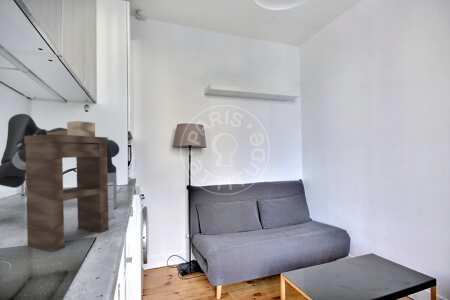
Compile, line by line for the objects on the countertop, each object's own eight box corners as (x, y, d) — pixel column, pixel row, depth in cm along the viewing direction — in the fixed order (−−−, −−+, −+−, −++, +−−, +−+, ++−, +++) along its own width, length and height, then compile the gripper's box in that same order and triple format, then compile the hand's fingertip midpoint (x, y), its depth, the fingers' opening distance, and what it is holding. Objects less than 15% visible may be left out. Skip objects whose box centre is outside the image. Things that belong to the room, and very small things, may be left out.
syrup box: (91, 220, 89) (90, 183, 89) (104, 216, 94) (103, 181, 94) (102, 221, 87) (101, 184, 87) (114, 217, 92) (113, 182, 92)
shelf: (84, 226, 82) (83, 138, 82) (109, 229, 77) (107, 137, 77) (26, 246, 65) (24, 136, 65) (54, 252, 60) (51, 134, 61)
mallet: (56, 139, 84) (55, 126, 84) (95, 137, 77) (94, 123, 77) (38, 139, 78) (37, 124, 78) (78, 136, 71) (77, 121, 71)
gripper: (53, 163, 91) (78, 141, 86) (9, 166, 77) (35, 140, 72) (47, 147, 92) (71, 125, 87) (2, 147, 79) (27, 120, 74)
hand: (54, 132), depth 80 cm, fingers open, 5 cm apart
